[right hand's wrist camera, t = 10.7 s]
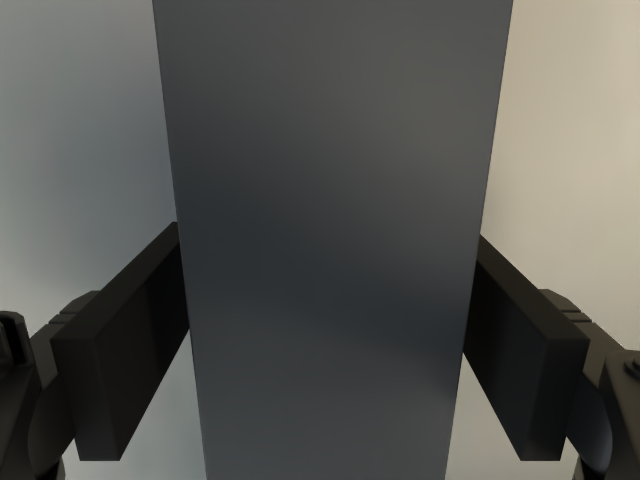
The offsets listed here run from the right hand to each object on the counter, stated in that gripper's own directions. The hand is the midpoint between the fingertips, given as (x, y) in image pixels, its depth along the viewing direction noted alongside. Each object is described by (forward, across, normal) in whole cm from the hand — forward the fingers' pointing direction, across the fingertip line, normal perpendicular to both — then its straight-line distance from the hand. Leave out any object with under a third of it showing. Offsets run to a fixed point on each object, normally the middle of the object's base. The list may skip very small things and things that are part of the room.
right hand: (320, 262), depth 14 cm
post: (+3, 0, -25) cm, 25 cm away
